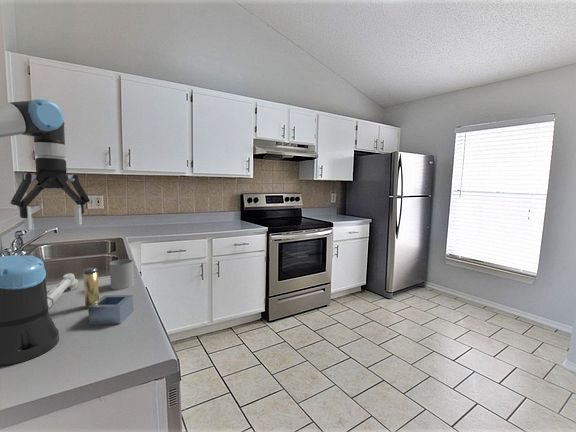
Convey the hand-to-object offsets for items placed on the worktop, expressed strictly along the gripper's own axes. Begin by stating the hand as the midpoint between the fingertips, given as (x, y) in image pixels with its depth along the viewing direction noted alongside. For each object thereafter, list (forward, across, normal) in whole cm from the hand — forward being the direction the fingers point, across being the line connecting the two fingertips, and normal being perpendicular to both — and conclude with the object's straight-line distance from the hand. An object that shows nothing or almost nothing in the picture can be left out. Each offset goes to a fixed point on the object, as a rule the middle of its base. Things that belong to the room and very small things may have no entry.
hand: (55, 226), depth 95 cm
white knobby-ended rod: (+29, -6, -14) cm, 33 cm away
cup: (+28, -25, -6) cm, 38 cm away
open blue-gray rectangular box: (+28, -6, +18) cm, 34 cm away
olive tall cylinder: (+28, -8, +4) cm, 30 cm away
